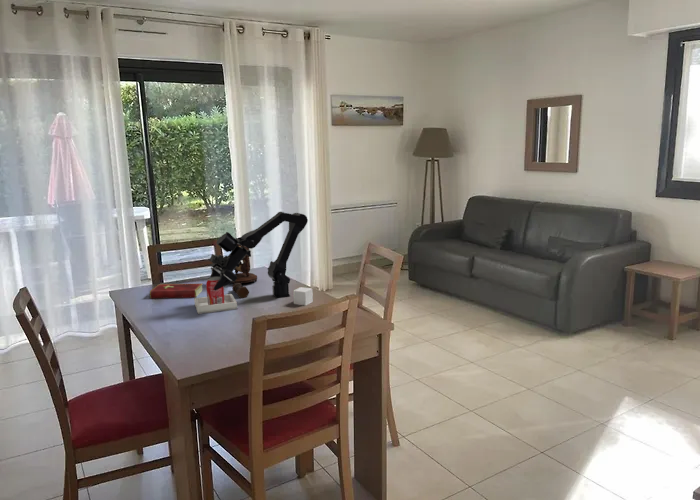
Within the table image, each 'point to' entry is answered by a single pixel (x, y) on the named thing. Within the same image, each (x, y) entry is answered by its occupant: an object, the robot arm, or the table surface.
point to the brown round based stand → (244, 270)
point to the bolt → (240, 290)
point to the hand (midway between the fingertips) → (211, 287)
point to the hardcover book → (176, 291)
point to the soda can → (213, 295)
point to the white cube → (303, 296)
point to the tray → (203, 305)
